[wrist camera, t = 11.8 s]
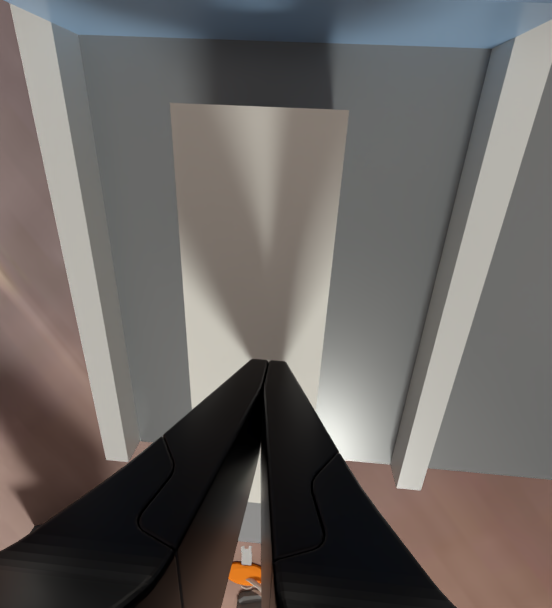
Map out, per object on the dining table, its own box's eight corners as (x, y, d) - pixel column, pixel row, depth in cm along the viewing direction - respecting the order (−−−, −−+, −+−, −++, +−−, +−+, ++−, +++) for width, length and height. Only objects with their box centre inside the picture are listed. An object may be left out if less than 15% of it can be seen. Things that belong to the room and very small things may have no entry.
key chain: (309, 633, 25) (310, 662, 23) (258, 637, 25) (255, 665, 24) (251, 506, 20) (247, 533, 18) (189, 515, 20) (181, 541, 19)
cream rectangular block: (308, 447, 16) (309, 548, 12) (220, 439, 16) (192, 536, 12) (343, 121, 11) (365, 110, 7) (210, 116, 11) (154, 102, 7)
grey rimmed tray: (697, 484, 16) (812, 586, 12) (124, 431, 17) (75, 508, 14) (1068, -2, 9) (1604, -101, 5) (44, -28, 10) (-103, -120, 7)
